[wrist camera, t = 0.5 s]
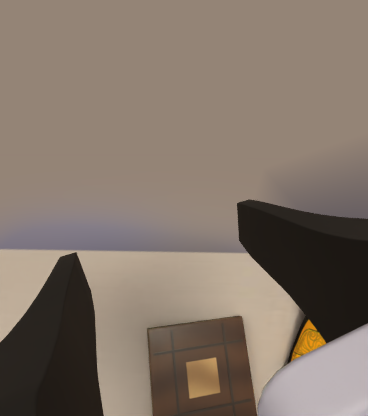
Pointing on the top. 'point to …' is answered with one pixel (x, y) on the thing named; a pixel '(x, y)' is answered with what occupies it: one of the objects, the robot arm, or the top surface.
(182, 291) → the top surface
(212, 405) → the board
